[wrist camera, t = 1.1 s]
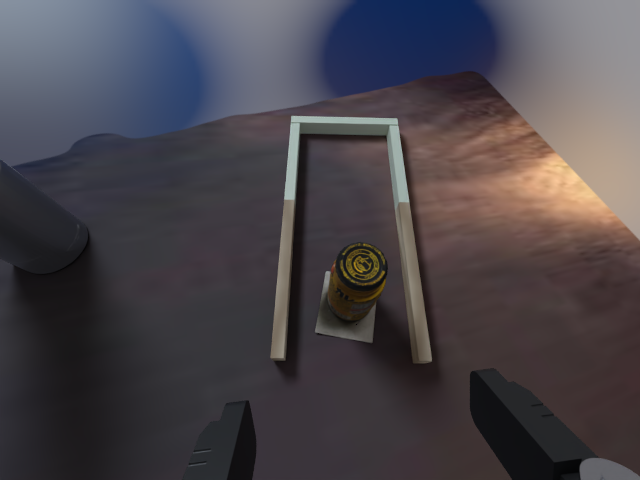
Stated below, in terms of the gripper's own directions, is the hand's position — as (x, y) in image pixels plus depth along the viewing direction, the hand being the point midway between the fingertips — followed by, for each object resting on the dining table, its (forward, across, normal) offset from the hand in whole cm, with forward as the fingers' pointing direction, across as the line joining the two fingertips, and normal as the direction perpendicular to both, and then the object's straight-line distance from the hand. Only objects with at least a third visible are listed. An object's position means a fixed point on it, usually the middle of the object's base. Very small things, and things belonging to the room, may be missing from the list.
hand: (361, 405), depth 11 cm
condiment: (+28, -3, +10) cm, 30 cm away
